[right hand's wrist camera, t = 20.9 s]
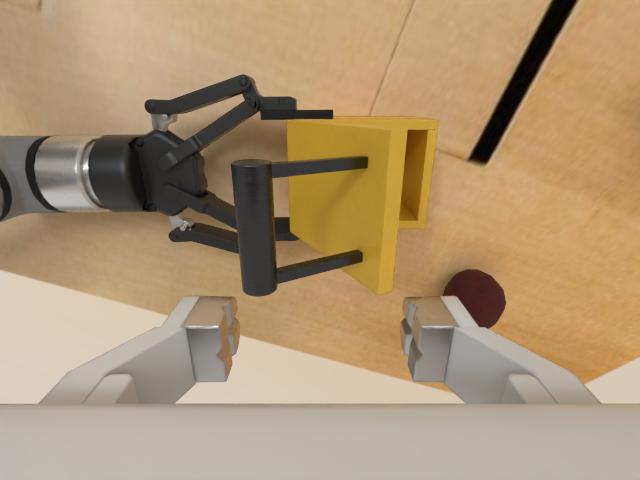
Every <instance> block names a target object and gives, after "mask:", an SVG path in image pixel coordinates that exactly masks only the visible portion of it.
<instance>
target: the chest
mask: <svg viewBox="0 0 640 480" xmlns="http://www.w3.org/2000/svg"><path fill="white" fill-rule="evenodd" d="M294 120H309V121H321V122H333V123H345V124H357V125H369V126H381V127H393V128H405V129H407V130H408V131H407V142H406V152H405V163H404V173H403V184H402V194H401V205H400V216H399V226H398V229H425V225H426V217H427V209H428V201H429V193H430V185H431V177H432V170H433V162H434V154H435V146H436V138H437V129H438V122H439V120H435V119H427V118H419V117H361V116H333V119H294Z"/></svg>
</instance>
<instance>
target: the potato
mask: <svg viewBox="0 0 640 480" xmlns="http://www.w3.org/2000/svg"><path fill="white" fill-rule="evenodd" d="M443 296H456V297H458V299H459V300H460V302H461V303H462V304H463V306H464V307H465V308H466V310H467V311H468V312H469V314H470V315H471V317H472V318H473V319H474V321H475V322H476V323H477V325H478V326H479V327H485V328H487V329H488V328H490V327H492V326H493V325H495V323H496V322H497V321H498V320H499V318H500V316H501V315H502V313H503V311H504V309H505V305H506V301H505V295H504V291H503V289H502V288H501V286H500V285H499V284H498V283H497V282H496V281H495V280H494V278H493V277H492V276H490V275H488V274H486V273H484V272H482V271H480V270H470V269H469V270H465V271H462V272H459V273H458V274H457V275H455V276H454V277H453V278H452V279H451V281H450V282H449V283H448V285H447V286H446V288H445V291H444V294H443Z"/></svg>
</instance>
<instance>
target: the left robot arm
mask: <svg viewBox="0 0 640 480" xmlns="http://www.w3.org/2000/svg"><path fill="white" fill-rule="evenodd" d="M240 94H243V97H244V99H245V101H244V102H242V103H241V104H239V105H238V106H236V107H235V108H233V109H232V110H231V111H229V112H228V113H226V114H225V115H223V116H222V117H220V118H219V119H217V120H216V121H214V122H213V123H212V124H210V125H209V126H207V127H206V128H204V129H203V130H201V131H200V132H198V133H197V134H196V135H194V136H192V137H190V138H189V139H187V140H186V141H184V140H182V139H181V138H179V137H178V136H176V135H175V134H173V133H172V132H170V131H169V130H168V126H169V124H171V123H174V122H176V121H177V118H178V116H177V114H183V113H188V112H191V111H194V110H197V109H200V108H202V107H205V106H208V105H211V104H214V103H217V102H220V101H223V100H225V99H228V98H231V97H234V96H237V95H240ZM145 109H146V110H147V112H149V113H151V116H152V124H153V131H151V132H150V133H148V134H146V135H104V136H102V137H101V136H98V135H55V136H0V222H2V221H5V220H7V219H10V218H13V217H16V216H18V215H22V214H27V213H46V212H110V211H113V212H160V213H163V214H165V215H167V216H169V219H170V223H171V228H172V231H171V232H170V233H169V239H170V240H171V241H173V242H185V241H193V242H197V243H201V244H205V245H208V246H212V247H216V248H220V249H224V250H227V251H231V252H235V253H239V245H238V234H237V233H236V232H232V231H229V230H225V229H221V228H217V227H214V226H210V225H206V224H202V223H194V222H193V220H192V219H189V218H185V217H184V216H183V215H182V213H181V212H182V211H184V210H185V209H186V208H187V207H190V208H191V209H193V210H195V211H197V212H199V213H205V214H208V215H209V216H211V217H213V218H215V219H217V220H219V221H221V222H223V223H225V224H227V225H229V226H231V227H233V228H235V229H236V230H237V223H236V213H235V207H234V206H232V205H231V204H229V203H227V202H225V201H223V200H221V199H219V198H218V197H216V195H215V194H213V193H212V192H210V191H208V190H206V187H208V186H207V179H206V177H205V174H204V156H201V154H200V153H199V152H200V151H201V150H203V149H204V148H206V147H207V146H209V145H210V144H211V143H213V142H214V141H215V140H217V139H218V138H220V137H221V136H223V135H224V134H226V133H227V132H229V131H230V130H232V129H233V128H235V127H236V126H238V125H239V124H241V123H242V122H244V121H245V120H247V119H248V118H250V117H251V116H253V115H254V114H256V113H257V112H259V111H260V112H261V120H289V119H333V110H297V101H296V99H294V98H292V97H263V96H261V95H260V94H259V92H258V90H257V88H256V85H255V81H254V79H253V78H251V77H249V76H246V75H239V76H237V77H234V78H231V79H228V80H225V81H223V82H220V83H217V84H214V85H211V86H208V87H206V88H203V89H200V90H197V91H194V92H192V93H189V94H186V95H183V96H180V97H178V98H175V99H172V100H152V99H150V100H147V101H146V102H145ZM274 223H275V241H296V240H298V239H300V238H298V237H297V236H296V235H294V234H293V233H291V232H290V217H274Z"/></svg>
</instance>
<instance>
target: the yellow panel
mask: <svg viewBox="0 0 640 480" xmlns="http://www.w3.org/2000/svg"><path fill="white" fill-rule="evenodd" d="M407 131H408V130H407V129H405V128H393V127H381V126H369V125H357V124H345V123H333V122H321V121H309V120H287V149H288V161H285V162H273V163H271V161H268V160H260V159H248V160H238V161H234V162H232V163H231V170H232V180H233V191H234V202H235V213H236V223H237V234H238V245H239V255H240V266H241V277H242V288H243V291H244V292H245V293H246V294H248V295H250V296H265V295H269V294H271V293H273V292H274V291H275V290H276V289H277V287H278V284H279V283H283V282H287V281H291V280H295V279H299V278H302V277H306V276H310V275H314V274H318V273H322V272H326V271H330V270H333V269H337V268H341V269H342V270H344V271H345V272H347V273H348V274H349V275H351V276H352V277H354V278H355V279H356V280H358V281H359V282H360V283H362V284H363V285H365V286H366V287H367V288H369V289H370V290H371V291H373V292H374V293H376V294H377V295H382V294H385V293H388V292H391V291H392V289H393V279H394V268H395V258H396V247H397V237H398V226H399V216H400V205H401V194H402V184H403V173H404V163H405V152H406V142H407ZM278 177H288V181H289V213H290V232H291V233H293V234H294V235H296V236H297V237H298V238H300V239H301V240H302V241H304V242H305V243H307V244H308V245H309V246H311V247H312V248H313V249H315V250H316V251H318V252H319V253H320V254H322V255H323V256H325V257H322V258H318V259H314V260H309V261H305V262H301V263H297V264H292V265H288V266H284V267H280V268H277V263H276V243H275V223H274V203H273V182H272V178H278Z"/></svg>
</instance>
